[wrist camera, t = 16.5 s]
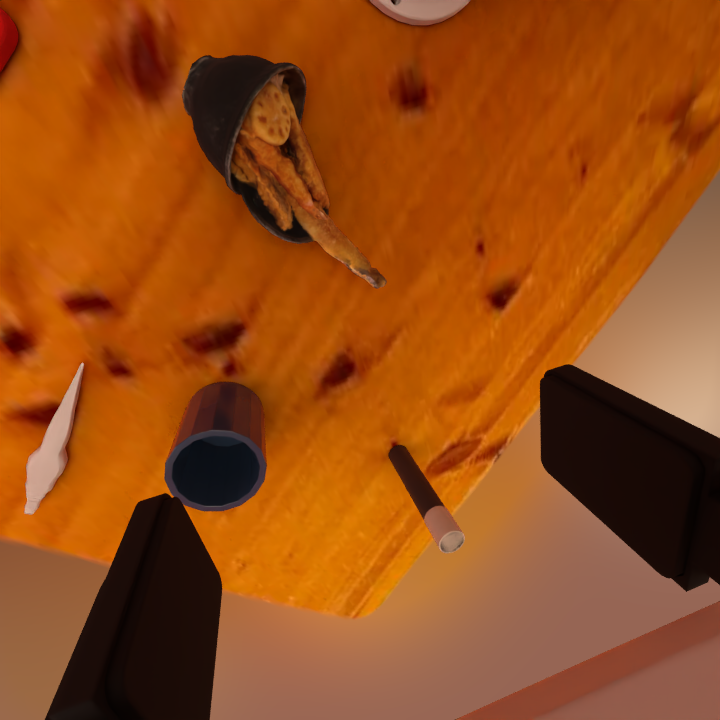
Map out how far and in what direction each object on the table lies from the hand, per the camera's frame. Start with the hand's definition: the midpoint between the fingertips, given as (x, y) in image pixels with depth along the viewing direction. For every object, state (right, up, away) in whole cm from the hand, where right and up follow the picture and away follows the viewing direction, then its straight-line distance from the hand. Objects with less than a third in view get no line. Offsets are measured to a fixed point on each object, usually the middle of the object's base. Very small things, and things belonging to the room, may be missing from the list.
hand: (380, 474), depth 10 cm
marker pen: (+4, -8, +33) cm, 34 cm away
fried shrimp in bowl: (-6, +17, +22) cm, 28 cm away
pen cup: (-13, -2, +27) cm, 30 cm away
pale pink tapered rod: (-26, -4, +24) cm, 36 cm away
